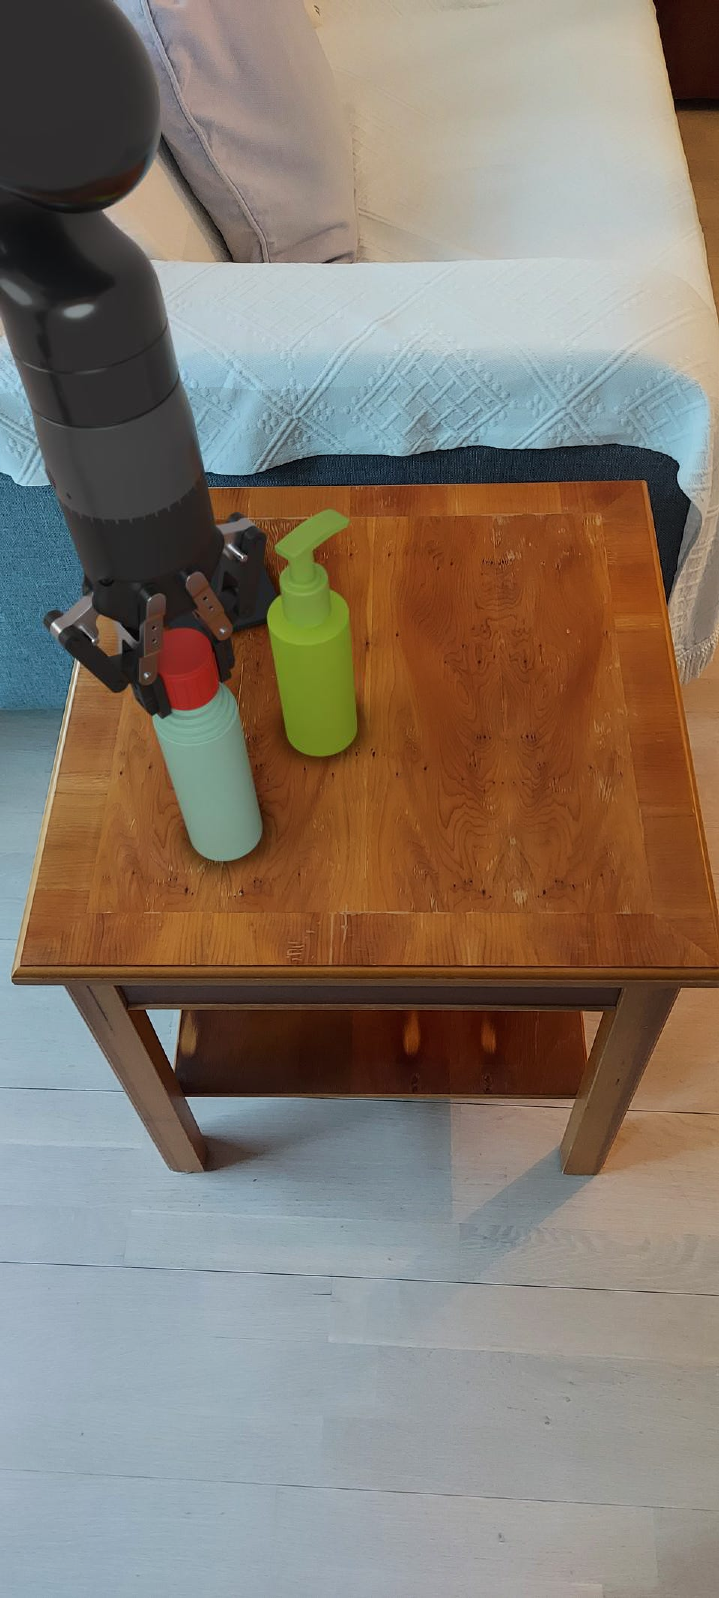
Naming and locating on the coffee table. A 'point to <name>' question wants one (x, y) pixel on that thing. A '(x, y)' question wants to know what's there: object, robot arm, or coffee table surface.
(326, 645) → the soap dispenser
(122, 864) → the coffee table surface
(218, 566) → the mat
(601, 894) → the coffee table surface
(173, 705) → the cap
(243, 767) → the bottle
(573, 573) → the coffee table surface
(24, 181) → the robot arm
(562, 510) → the coffee table surface
